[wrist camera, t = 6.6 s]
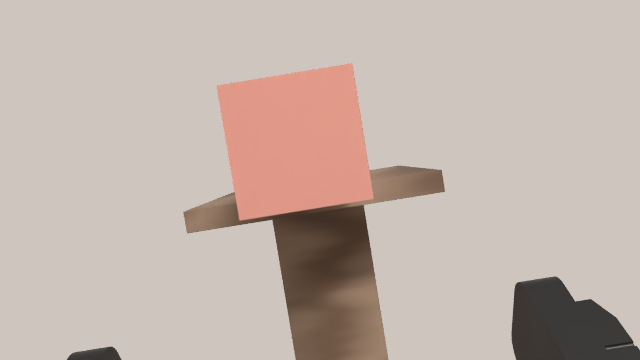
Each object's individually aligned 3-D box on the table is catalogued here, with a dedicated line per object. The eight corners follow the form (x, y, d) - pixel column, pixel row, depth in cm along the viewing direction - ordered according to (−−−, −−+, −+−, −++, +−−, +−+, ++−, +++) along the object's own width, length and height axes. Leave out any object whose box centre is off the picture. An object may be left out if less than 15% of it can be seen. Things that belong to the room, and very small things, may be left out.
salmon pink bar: (343, 175, 38) (334, 118, 38) (373, 199, 16) (352, 63, 16) (287, 184, 38) (277, 127, 38) (239, 220, 16) (216, 85, 16)
